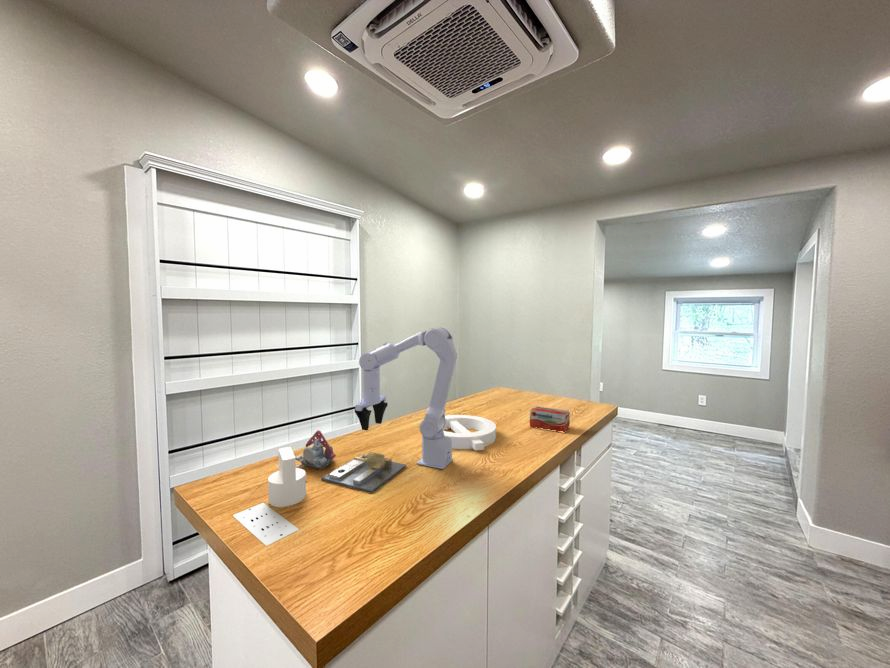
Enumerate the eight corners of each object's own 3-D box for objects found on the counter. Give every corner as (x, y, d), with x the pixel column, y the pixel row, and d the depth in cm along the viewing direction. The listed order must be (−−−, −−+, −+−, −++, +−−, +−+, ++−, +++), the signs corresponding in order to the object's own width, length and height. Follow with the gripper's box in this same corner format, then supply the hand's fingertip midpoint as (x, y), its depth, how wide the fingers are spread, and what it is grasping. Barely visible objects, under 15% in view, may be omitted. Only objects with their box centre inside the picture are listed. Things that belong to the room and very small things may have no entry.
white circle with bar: (444, 422, 158) (444, 411, 157) (504, 431, 145) (504, 420, 145) (412, 442, 132) (412, 430, 132) (481, 455, 120) (481, 441, 120)
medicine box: (569, 428, 149) (569, 410, 148) (565, 434, 142) (566, 414, 141) (534, 423, 156) (534, 405, 156) (529, 428, 149) (529, 409, 149)
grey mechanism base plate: (406, 467, 110) (406, 457, 110) (372, 493, 94) (372, 481, 93) (360, 457, 117) (360, 448, 117) (321, 480, 101) (321, 469, 101)
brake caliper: (346, 452, 116) (330, 430, 109) (327, 482, 108) (308, 461, 101) (321, 446, 121) (304, 425, 114) (301, 475, 113) (281, 455, 106)
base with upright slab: (309, 500, 90) (308, 455, 89) (270, 510, 85) (269, 463, 85) (302, 486, 98) (301, 444, 97) (267, 494, 93) (265, 451, 92)
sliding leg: (384, 466, 105) (384, 454, 105) (380, 469, 103) (380, 457, 103) (356, 460, 109) (356, 449, 109) (352, 463, 107) (352, 451, 107)
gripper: (374, 382, 127) (375, 419, 128) (347, 390, 114) (348, 431, 114) (390, 384, 124) (391, 421, 125) (365, 392, 111) (365, 434, 112)
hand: (372, 426), depth 119 cm, fingers open, 7 cm apart
